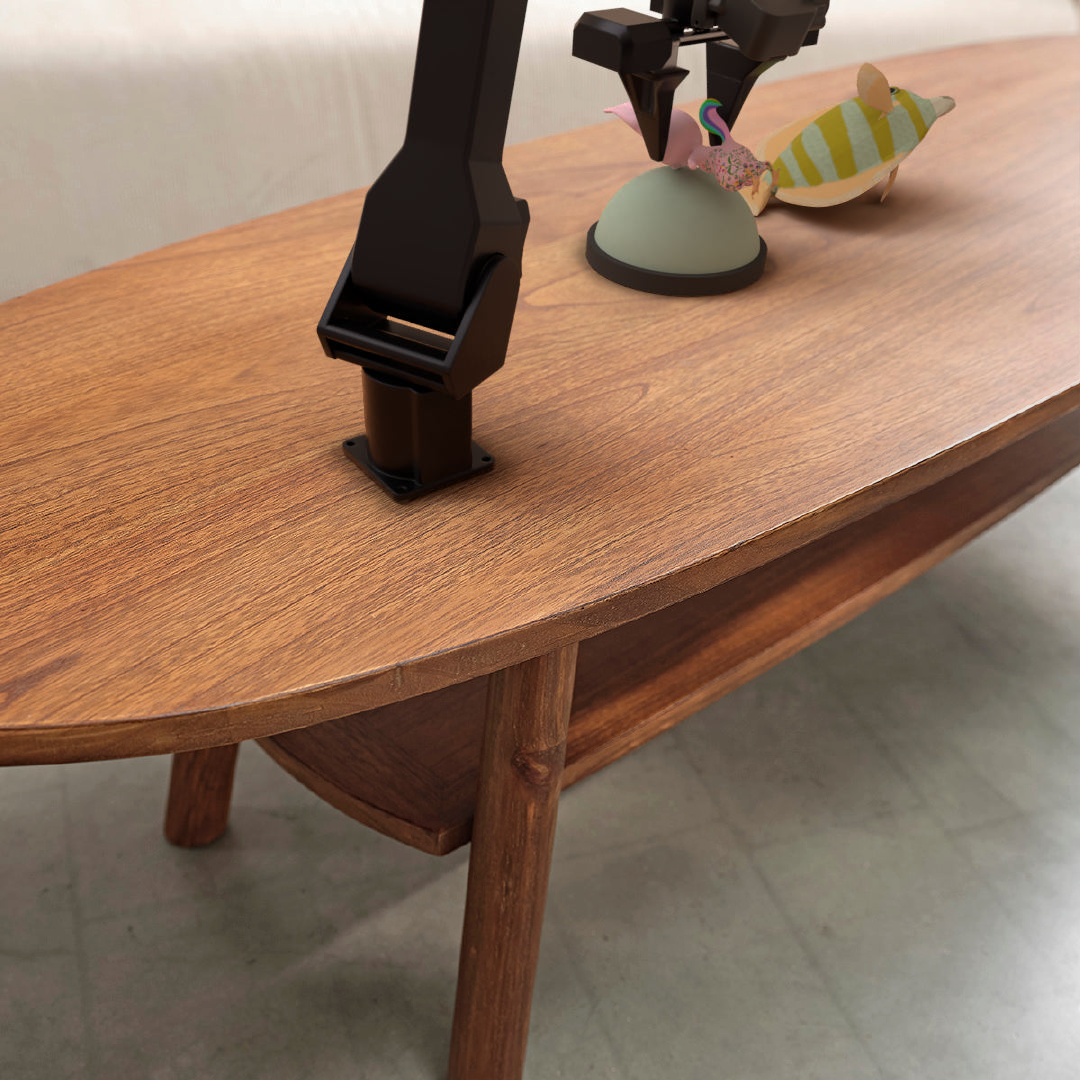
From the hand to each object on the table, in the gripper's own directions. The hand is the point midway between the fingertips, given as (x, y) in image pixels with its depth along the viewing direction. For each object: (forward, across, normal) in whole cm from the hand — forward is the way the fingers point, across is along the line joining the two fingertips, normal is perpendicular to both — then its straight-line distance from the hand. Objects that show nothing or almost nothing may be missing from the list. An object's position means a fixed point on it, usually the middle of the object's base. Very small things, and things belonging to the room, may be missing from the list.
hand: (686, 154), depth 83 cm
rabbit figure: (+1, 0, 0) cm, 1 cm away
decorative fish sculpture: (+8, +21, +3) cm, 23 cm away
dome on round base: (+14, 0, 0) cm, 14 cm away
